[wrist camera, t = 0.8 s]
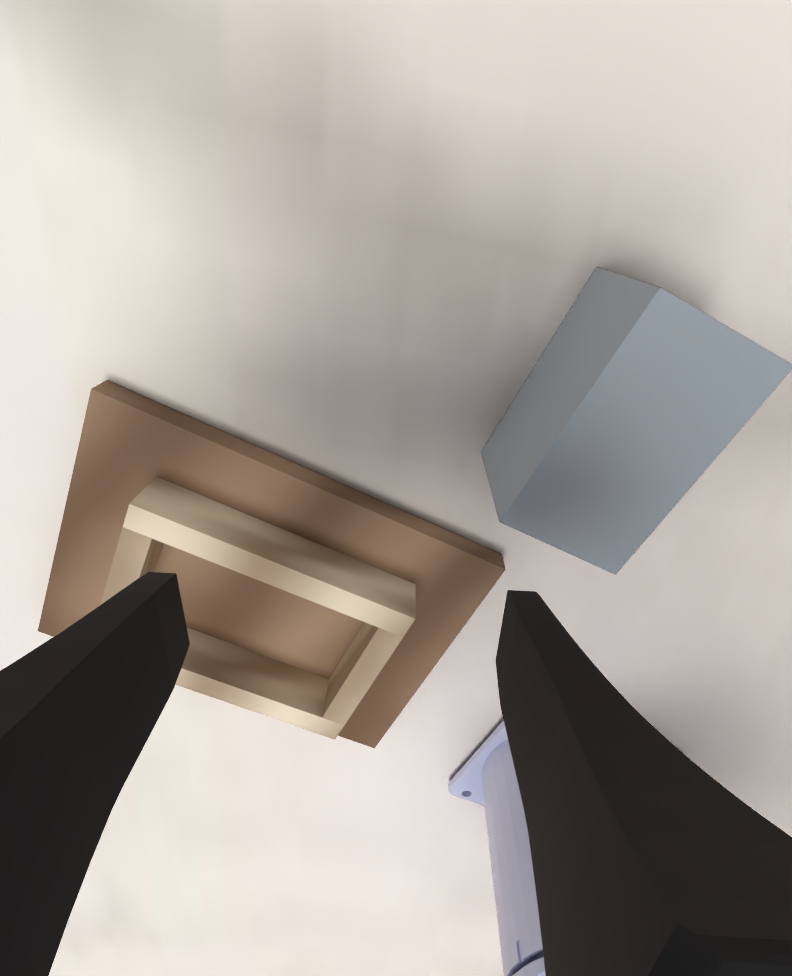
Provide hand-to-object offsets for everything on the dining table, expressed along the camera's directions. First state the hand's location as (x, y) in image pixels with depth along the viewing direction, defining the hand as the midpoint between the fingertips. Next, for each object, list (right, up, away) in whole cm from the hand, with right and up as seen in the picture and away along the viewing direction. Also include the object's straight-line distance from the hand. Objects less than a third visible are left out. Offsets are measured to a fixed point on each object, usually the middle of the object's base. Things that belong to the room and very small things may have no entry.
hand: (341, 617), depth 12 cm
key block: (+8, +6, +7) cm, 12 cm away
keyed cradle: (-4, -1, +11) cm, 12 cm away
